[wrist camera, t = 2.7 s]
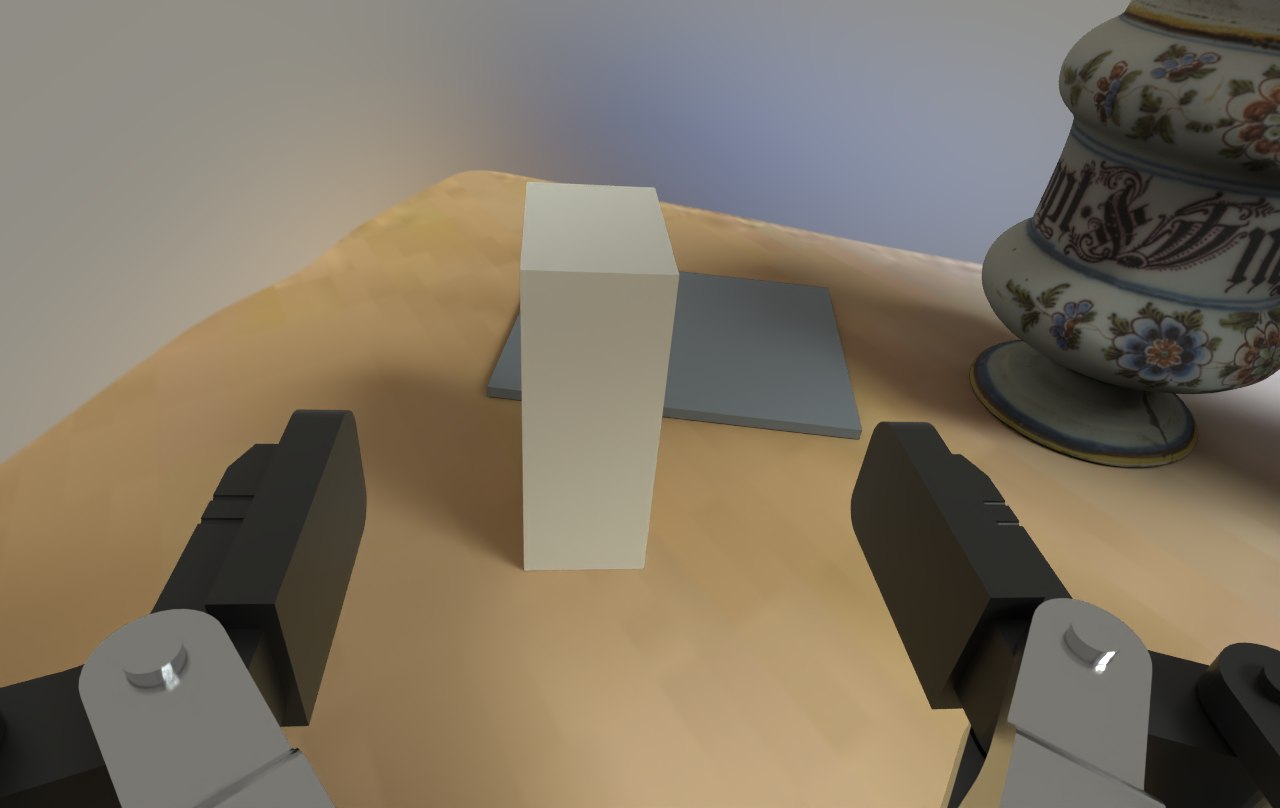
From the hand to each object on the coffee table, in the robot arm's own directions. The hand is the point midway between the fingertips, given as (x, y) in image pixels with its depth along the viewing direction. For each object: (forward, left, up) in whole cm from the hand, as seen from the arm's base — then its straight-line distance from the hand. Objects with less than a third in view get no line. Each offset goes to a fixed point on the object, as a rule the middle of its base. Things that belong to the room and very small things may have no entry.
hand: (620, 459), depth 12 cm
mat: (-1, -24, -12) cm, 27 cm away
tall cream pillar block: (+2, -11, -12) cm, 17 cm away
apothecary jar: (-20, -22, -12) cm, 32 cm away
